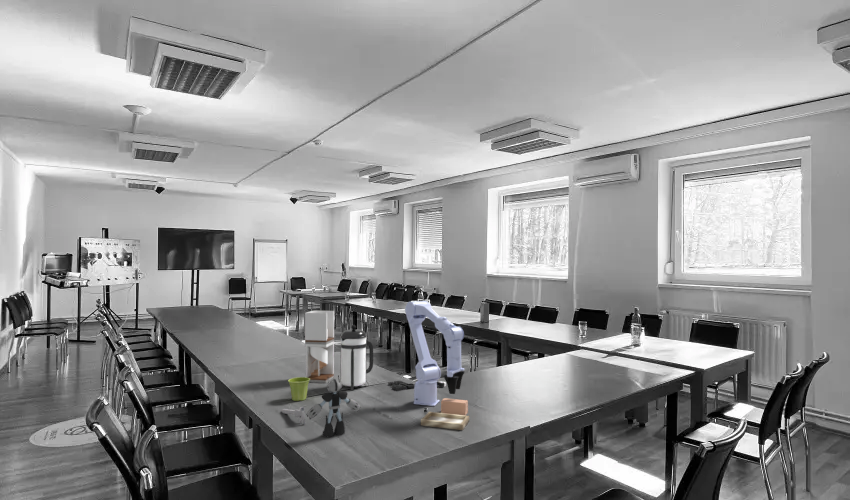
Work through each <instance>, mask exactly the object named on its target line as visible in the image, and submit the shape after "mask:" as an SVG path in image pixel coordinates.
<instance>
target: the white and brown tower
mask: <svg viewBox="0 0 850 500" xmlns="http://www.w3.org/2000/svg"><path fill="white" fill-rule="evenodd" d="M304 347H305V377H307V378H310V380H309V383H321V384H322V383H323V384H328V378H329V382H330V381H332V380H333V379H335V378H334V377H335V373H334V372H335V367H334V366H335V355H334V354H335V311H334V310H311V311H307V312H305V313H304ZM327 377H328V378H327Z"/></svg>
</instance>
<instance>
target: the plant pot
mask: <svg viewBox="0 0 850 500" xmlns="http://www.w3.org/2000/svg"><path fill="white" fill-rule="evenodd" d="M309 380H310V378H307V377H306V376H304V377H303V376H301V377H300V376H298V377H297V376H296V377H292V378H290V379H288V380H287V382H288V383H289V388H290V394H291V395H290V396H291V400H292V401H294V402H299V401H305V400H306V399H307V396H308V395H307V394H308V387H309V383H310V382H309Z"/></svg>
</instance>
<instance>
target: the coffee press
mask: <svg viewBox="0 0 850 500" xmlns="http://www.w3.org/2000/svg"><path fill="white" fill-rule="evenodd" d="M356 328H357V326H356V325H355V324H352V325H351V329H346V330H344V331H343V332H341V335H339V336H340V370H339V371H340V372H339V373H340V375H339V379H340V383H341V384H342V386H345V387H350V391H354V390H355V387H358V386H362V385H363V386H365V387H368V388H369V385H370V384H369V382H368V380H367V374H369V373H370V372H371V371H373V367H374V345H373V343H372V342H371V341H368V340H367V337H368V336H367V333H366V332H365V331H364V330H362V329H356ZM367 347H368V348H369V350H368V352H369V354H368V355H369V365H368V368H367ZM365 383H366V384H365Z"/></svg>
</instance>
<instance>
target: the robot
mask: <svg viewBox="0 0 850 500" xmlns="http://www.w3.org/2000/svg"><path fill="white" fill-rule="evenodd" d="M327 378H328V377H327ZM342 387H343V385H342V383H341V382H340V375H337V379H335V378H333V379H331V380H330V381H329V378H328V382H327V385H326V388H327V389H326V390H328V392H326V393H323V394H322V395H321V399H322V400H323V401H322V402H320V403H316V404H314V405H313V406H312V407H311V408H309V410H308V411H307V412H306V413H305V416H306V417H307V418H308V419H309V420H313V419H315V417H317V416H318V415H319V413H321V411H322V409H323V406H324V405H325V404H326V403H328V409H329V411H328V416H327V415H325V425H324V428H323V430H322V435H321V436H322V437H323V438H332V437H334V436H335V435H337V436H342V435H345V434H346V428H345V427H346V426H345V423H344V420H343V419H344V418H343V416H344V414H343V411H342V412H341V409H340V408H341V403H342V401H344V402H345V403H346V405H347V407H348V408H349V409H350V410H351V411H354V412H358V411H359V410H360V409H361V405H360V404H359V403H358V402H357V401H356V399H355V400H354V399H352V398H347V397H348V392H347V391H346V390H341V389H342ZM333 414H335V415H333ZM334 417H335V419H336V422H335V427H334V428H333V424H332V422H333V419H334Z"/></svg>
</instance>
